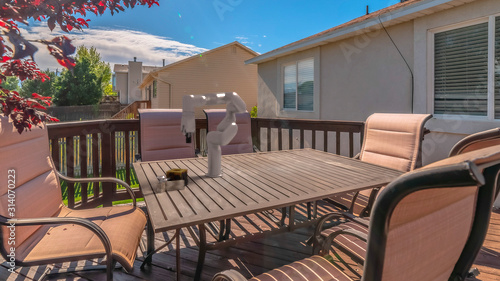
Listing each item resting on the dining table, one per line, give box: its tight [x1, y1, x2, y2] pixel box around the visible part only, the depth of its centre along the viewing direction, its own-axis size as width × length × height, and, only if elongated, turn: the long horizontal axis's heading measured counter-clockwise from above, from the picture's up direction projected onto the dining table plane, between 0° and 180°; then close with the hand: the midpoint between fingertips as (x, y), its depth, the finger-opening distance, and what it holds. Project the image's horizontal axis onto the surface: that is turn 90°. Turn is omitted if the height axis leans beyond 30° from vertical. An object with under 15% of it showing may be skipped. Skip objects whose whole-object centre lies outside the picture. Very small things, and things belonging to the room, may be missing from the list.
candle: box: [165, 168, 189, 188], centre depth 176 cm, size 10×10×10 cm
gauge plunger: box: [156, 175, 172, 183], centre depth 166 cm, size 11×4×4 cm, turn 156°
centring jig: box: [156, 177, 185, 194], centre depth 168 cm, size 13×16×5 cm
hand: (188, 143), depth 185 cm, fingers closed
